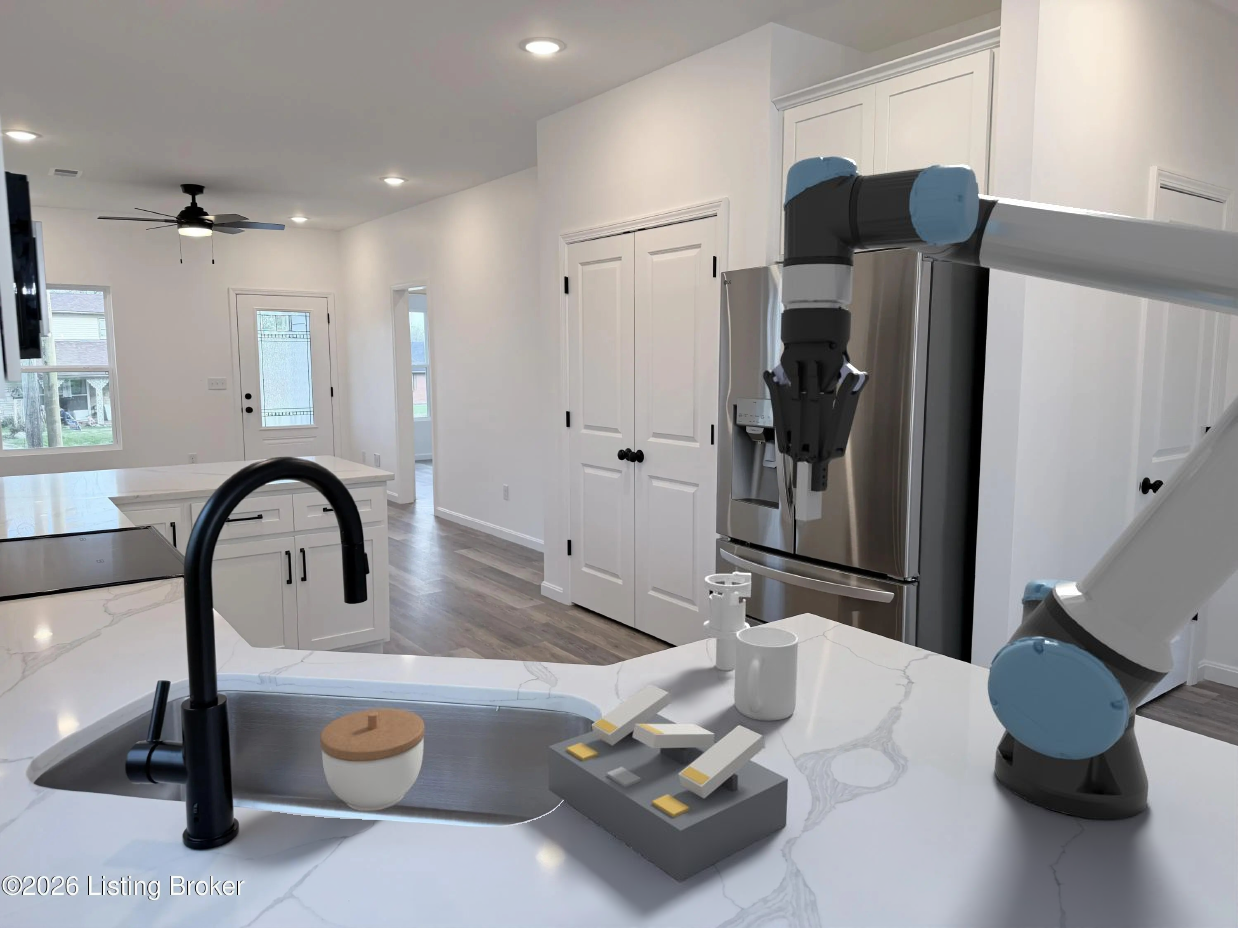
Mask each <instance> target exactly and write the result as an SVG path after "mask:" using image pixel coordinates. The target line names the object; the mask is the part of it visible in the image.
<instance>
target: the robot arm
mask: <svg viewBox="0 0 1238 928" xmlns="http://www.w3.org/2000/svg"><path fill="white" fill-rule="evenodd" d="M979 192H980V191H979V183H978V180H977V177H976V174H975V171H974V170H973V169H972V168H971V167H970V166H968V165H965V164H956V165H944V166H943V165H941V164H934V165H931V166H928V167H924V168H923V167H922V168H914V169H907V170H900V171H892V172H885V173H878V174H877V173H875V174H869V175H868V174H866V175H862V174H859V173H858V165H857V163H856V162H855V161H854V160H853V159H852V158H851V159H850V158H848V157H844V156H825V157H824V156H815V157H810V158H805V159H801V160H799V161H797V162H795V163H793V164H792V166H791V167H789V169H788V172H787V175H786V186H785V196H784V197H785V198H784V203H783V206H782V207H783V208H782V209H783V211H784V213H783V215H784V216H783V220H784V223H783V262H782V278H781V279H782V280H781V301H780V303H782V304H783V306H784V305H785V306H786V309H784V310H783V311H782V312H781V313H780V341H781V342H782V343H783V350H782V354H781V356H780V360H779V362H780V363H779V364H777V365H776V366H775V367H774V368H773V369H771V370H769V369H767V370H764V371H763V373H762V378H763V380H764V383H765V384H766V386H767V389H768V390H769V398H770V405H771V411H772V417H773V424H774V431H775V437H776V443H777V444H776V445H777V449H778V452H779V453H780V454H783V455H784V454H785V455H786V456H788V457H790V459H791V461H792V475H791V476H792V477H791V478H792V479H791V482H792V483H791V485H792V488H793V489H796V495H795V497H796V498H795V499H796V500H795V520H798V521H803V522H808V521H813V520H819V519H822V502H823V492H825V491H827V488H828V481H829V479H828V478H829V476H828V475H829V463H830V462H831V461H833V460H835V459H836V460H837V459H839V458H840V459H841V458H843V457H844V456H845V455H846V451H847V448H848V447H847V446H848V443H849V438H850V435H851V430H852V427H853V423H854V420H855V416H856V412H857V407H858V403H859V400H860V395H861V392H863V390H864V389H865V386H866V385H867V383H868V381H869V379H870V376H869V373H868V372H866V371H859V369H857V368H856V367H854V366H853V365H852V364H851V357H850V354H849V351H848V344H849V342H850V341H851V328H852V326H851V325H852V312H850V309H848V308H847V309H846V305H850V304H851V303H852V297H853V275H854V273H853V272H854V270H853V269H854V255H855V250H870V249H890V248H893V249H895V248H907V249H909V250H912V251H915V252H916V253H920V254H923V255H925V256H926V257H928V259H929V258H930V259H931V260H934V261H938V262H943V263H959V264H963V265H969V266H975V267H983V268H987V269H992V270H999V271H1003V272H1008V273H1015V274H1018V275H1025V276H1028V277H1035V278H1040V279H1044V280H1049V281H1054V282H1055V281H1056V282H1061V283H1066V284H1071V285H1075V286H1076V285H1077V286H1079V287H1080V286H1081V287H1084V288H1085V287H1087V288H1091V289H1097V290H1102V291H1107V292H1111V293H1117V294H1123V295H1128V296H1132V297H1138V298H1142V299H1143V298H1144V299H1147V300H1148V299H1149V300H1153V301H1159V302H1164V303H1170V304H1172V305H1173V304H1174V305H1180V306H1185V307H1190V308H1194V309H1200V310H1205V311H1211V312H1216V313H1220V314H1221V313H1222V314H1226V315H1232V316H1237V317H1238V231H1232V230H1226V229H1225V230H1223V229H1217V228H1211V227H1206V226H1205V227H1204V226H1198V225H1190V224H1183V223H1176V222H1168V221H1164V220H1158V219H1157V220H1155V219H1148V218H1142V217H1141V218H1140V217H1135V216H1128V215H1122V214H1121V215H1120V214H1113V213H1108V212H1100V211H1096V210H1095V211H1094V210H1087V209H1082V208H1081V209H1080V208H1073V207H1067V206H1066V207H1065V206H1059V205H1052V204H1046V203H1038V202H1031V201H1025V200H1018V199H1014V198H1013V199H1012V198H1004V197H995V196H991V195H985V194H980V193H979ZM838 384H840V385H839V387H838V386H837V385H838ZM1237 570H1238V395H1237V396H1235V398H1234V399H1233V401H1232V402H1231V403H1230V404H1229V405H1228V406H1227V407H1226V409H1225V410H1224V411H1223V412H1222V414H1220V416H1219V417H1218V418H1217V420H1216V421H1215V422H1214V423H1213V424H1212V425H1211V427H1210V428H1209V429H1208V430H1207V432H1206V433H1205V434H1204V435H1203V436H1202V437H1201V438H1200V439H1199V441H1198V442H1197V444H1196V445H1195V446H1193V448H1192V449H1191V450H1190V452H1189V453H1188V454H1187V455H1186V456H1185V458H1184V459H1183V460H1182V461H1181V463H1180V464H1178V466H1177V467H1176V468H1175V470H1174V471H1173V472H1172V473H1171V474H1170V475H1169V476H1168V478H1167V479H1166V480H1165V481H1164V483H1163V484H1162V485H1161V486H1160V487H1159V489H1158V490H1156V492H1155V494H1154V495H1153V496H1151V498H1150V499H1149V500H1148V502H1146V503H1145V505H1144V506H1143V507H1142V509H1141V510H1140V511H1139V512H1138V513H1137V515H1136V516H1135V517H1134V518H1133V519H1132V520H1131V522H1130V523H1129V524H1128V525H1127V527H1126V528H1125V529H1124V530H1123V531H1122V532H1121V534H1120V535H1119V536H1118V537H1117V539H1116V540H1115V541H1114V542H1113V543H1112V545H1110V547H1109V548H1108V549H1107V550H1106V551H1105V553H1104V554H1103V555H1102V556H1101V558H1100V559H1098V561H1097V563H1096V564H1095V565H1093V567H1092V568H1091V569H1090V571H1088V573H1087V574H1086V575H1085V577H1084V578H1083V579H1082V580H1079V581H1073V580H1072V581H1071V580H1063V579H1062V580H1061V579H1047V578H1046V579H1045V578H1044V579H1043V578H1041V579H1040V578H1039V579H1034V580H1030V581H1029V582H1028V583H1026V585H1025V587H1024V592H1023V597H1022V598H1021V603H1020V604H1021V605H1022V616H1021V617H1022V618H1021V624H1020V626H1018V627H1017V629H1016V631H1015V632H1014V633H1013V634H1012V636H1011V637H1010V639H1008V641H1007V643H1006V644H1005V645H1004V646H1003V647H1001V649H999V651H998V652H997V653H996V654H995V655H994V657H993V659H992V661H991V663H990V664H991V666H990V667H989V673H988V678H987V692H988V693H987V695H988V699H989V702H990V705H991V708H992V711H993V713H994V715H995V716H996V719H997V720H998V721H999V722H1000V724H1001V726H1002V727H1004V729H1005V730H1004V733H1003V734H1002V737H1001V739H1000V740H999V743H998V745H997V747H996V751H995V759H994V760H995V761H994V772H995V775H996V777H997V778H998V780H999V781H1000V782H1001V784H1003V786H1005V787H1006V788H1008V790H1010V791H1011V792H1013V793H1014V794H1016V795H1018V796H1019V797H1021V798H1023V799H1024V800H1026V801H1029V802H1030V803H1033V804H1036V805H1038V806H1040V807H1043V808H1046V809H1049V810H1051V811H1055V812H1057V813H1058V812H1059V813H1062V814H1064V815H1065V814H1066V815H1070V816H1075V817H1081V818H1087V819H1088V818H1089V819H1095V820H1096V819H1099V820H1117V819H1125V818H1129V817H1133V816H1135V815H1138V814H1140V813H1141V812H1143V810H1145V809H1146V806H1147V803H1148V795H1149V794H1148V793H1149V779H1148V775H1147V772H1146V769H1145V765H1144V761H1143V759H1142V755H1141V750H1140V746H1139V743H1138V740H1137V736H1136V732H1135V726H1136V725H1135V723H1136V712H1137V707H1138V706H1139V705H1140V704H1141V703H1142V701H1144V699H1146V697H1148V695H1150V693H1151V692H1152V691H1153V690H1154V688H1156V687H1157V686H1158V684H1160V683H1161V682H1162V680H1163V679H1165V677H1166V676H1167V675H1168V674H1169V673H1170V672H1171V671H1172V670H1173V668H1174V660H1173V654H1172V649H1171V643H1172V640H1174V638H1176V636H1177V635H1178V634H1179V633H1180V632H1181V631H1182V630H1183V629H1184V628H1185V627H1186V626H1187V625H1188V623H1189V622H1190V621H1191V620H1193V618H1194V617H1195V616H1196V615H1197V614H1198V613H1199V612H1200V611H1201V610H1202V609H1203V607H1204V606H1205V605H1206V604H1207V603H1208V602H1209V601H1210V600H1211V599H1212V598H1213V597H1214V596H1215V594H1217V592H1218V591H1219V590H1220V589H1221V588H1222V587H1223V586H1224V585H1225V584H1226V583H1227V581H1228V580H1229V579H1230V578H1231V577H1232V576H1233V575H1234V574H1235V573H1237Z"/></svg>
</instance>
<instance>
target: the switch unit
mask: <svg viewBox="0 0 1238 928" xmlns="http://www.w3.org/2000/svg"><path fill="white" fill-rule="evenodd" d="M643 724H677V723H676V722H674V721H673V720H671V719H669V718H667V717H664V716H662V715H660V714H659V713H657V714H655V715H654V716H653V717H651V718H650V719H648V720H647V721H646V722H644V723H643ZM633 732H634V730H633V731H632V732H630V733H629V734H628V735H626V736H625V737H623V738H622V739H621V740H619V741H618V742H617V743H615V744H614V745H610V744H609V743H607V742H605V741H603V740H602V739H600V738H598V737H596V736H595V735H594V732H593V730H591V731H590V732H586V733H584V734H579V735H578V736H575V737H571V738H568V739H566V740H562V741H560V742H557V743H554V744H552V745H548V747H547V751H548V753H547V754H548V758H547V759H548V790H549V791H550V792H552V793H553V794H554V795H556V796H557V797H559V798H560V799H561V800H563V801H564V802H566V803H567V804H568V805H570V806H571V807H573V808H574V809H576V810H577V811H578V812H580V813H581V814H583V815H584V816H586V817H587V818H588V819H590V820H591V821H593V822H594V823H595V824H597V825H599V826H600V827H601V828H602V829H604V830H606V831H607V832H608V833H610V834H611V835H612V836H614V837H615V838H617V839H618V840H620V841H621V842H622V843H623V844H625V845H627V846H628V847H630V848H631V849H632V850H634V852H637V853H638V854H639V855H641V856H642V857H643V858H645V859H646V860H648V861H649V862H651V863H652V864H654V865H655V866H656V867H658V868H660V869H661V870H662V871H664V873H666V874H668V875H669V876H670V877H672V878H674V879H675V880H676V881H678V882H679V883H681V882H682V881H685V880H687V878H690V877H692V876H693V875H695V874H697V873H699V872H701V871H703V870H705V869H707V868H708V867H711V866H712V865H714V864H716V863H718V862H720V861H722V860H723V859H725V858H727V857H729V856H730V855H734V854H735V853H736V852H739V851H740V850H743V849H744V848H745V847H747V846H748V847H749V846H750V845H751V844H753V843H755V842H758V841H759V840H760V839H763V838H764V837H766V836H768V835H770V834H772V833H773V832H776V831H778V830H779V829H781V828H783V827H785V826H787V817H788V816H787V813H788V812H787V810H788V784H789V779H788V778H787V777H785V776H783V775H781V774H779V773H777V772H775V771H773V770H771V769H769V768H767V767H765V766H763V765H761V764H759V763H757V762H755V761H752V760H751V759H750V760H749V761H748V762H747V763H746V764H744V765H743V766H742V767H741V768H740V769H738V770H737V771H736V772H735V773H734V774H733V775H731V776H730V777H729V778H728V779H727V780H726V781H724V782H723V783H722V784H721V785H720V786H719V787H717V788H716V789H715V790H714V791H713V792H711V793H710V794H709V795H708V796H707V797H706V798H702V797H700V796H699V795H697V794H695V793H693V792H692V791H690V790H688V789H687V788H685V787H683V786H681V783H680V779H679V773H680V772H681V771H682V770H684V769H685V768H686V767H687V766H689V765H690V764H691V763H692V762H694V761H695V760H696V759H697V758H699V757H700V756H701V755H702V754H704V753H705V752H706V751H707V750H709V749H710V748H711V747H686V748H651V747H650V746H648V745H646V744H644V743H642V742H640V741H639V740H637V739H635V738H633V737H632V736H633ZM716 743H717V742H714V741H713V745H715V744H716ZM713 745H712V746H713ZM565 800H566V801H565Z"/></svg>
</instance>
